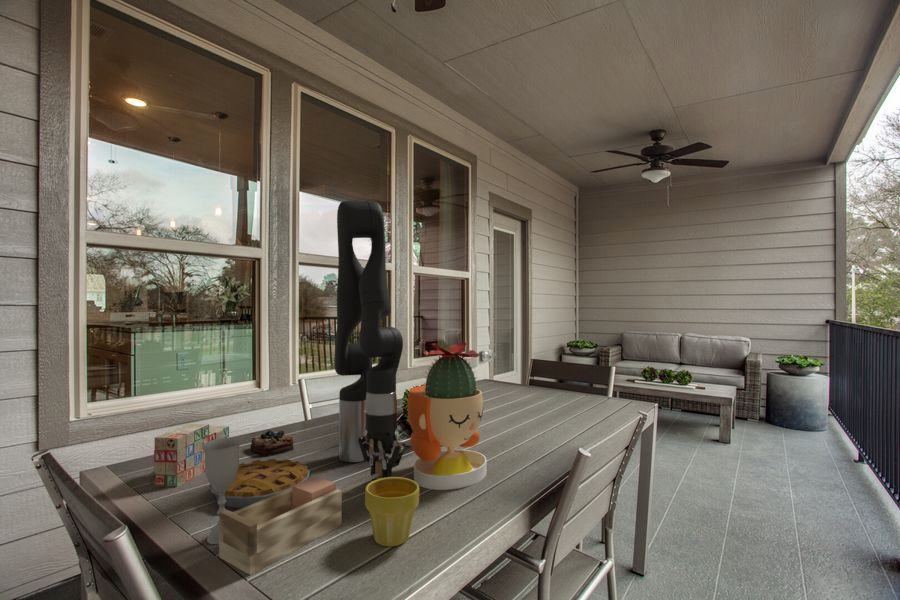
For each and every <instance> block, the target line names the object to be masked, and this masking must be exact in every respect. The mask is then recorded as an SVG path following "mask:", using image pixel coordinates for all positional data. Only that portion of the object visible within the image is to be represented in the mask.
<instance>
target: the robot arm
mask: <svg viewBox="0 0 900 600" xmlns="http://www.w3.org/2000/svg"><path fill="white" fill-rule="evenodd" d="M336 216H337V217H336V226H337V227H336V229H337V251H338V262H337V263H338V264H337V265H338V266H337V283H336V284H337V285H336V332H335V345H334V358H333V361H334V370H335V371H334V372H335V373H336V374H337V375H338V376H344V377H345V376H360V377H359V378H358V379H357V380H356V381H355V382H353V383H351V384H349V385H346V386H344V387H341V388H340V390H339V393H338V394H339V404H338V405H339V406H338V407H339V409H338V411H339V415H338V416H339V417H338V419H339V421H338V424H339V426H338V428H339V429H338V435H339V437H338V439H339V440H338V444H339V445H338V447H339V449H338V450H339V451H338V458H339V460H340V461H341V462H347V463H360V462H365V463H369V466H370V476H371V475H373V474H375V461H376V460H380V459H381V460H382V465H383V469H382V478H387V477H393V468H396V467H397V466H399V465H400V462H401V461H402V460H401V459H402V457H403V455H404V451H406V450H405V449H406V447H407V446H406V444H405V443H400V442H399V441H398V440H397V439H398V438H397V436H396V430H397V428H398V397H397V373H398V369H399V365H400V361H401V357H402V354H403V349H404V338H403V335H402V333H401V331H400V330H399V329H398V328H396V327H392V326H386V327H383V326H382V327H380V326H381V325H380V324H381V323H380V322H381V319H384V318H386V317H388V316H390V314H391V313H392V312H391V311H392V308H391V307H392V306H391V300H390V293H389V288H388V281H387V269H386V267H387V265H386V264H387V262H386V257H387V256H386V232H385V231H386V230H385V229H386V228H385V220H384V219H385V218H384V212H383V209H382V206H381V205H380V203H379V202H378V201H372V200H342V201H341V202H340V203H339V205H338V207H337V214H336ZM367 238H370V240H371V241H370V243H371V248H370V253H369V255H368V260H367V263H366V264H365V266H364V267H363V266H362V264H361V262H359V259H358V258H357V255H356V254H355V250H354V244H353V239H367ZM359 324H360V328H359V337H358V338H359V339H358V340H359V343H349V341H350V338H351V336H352V334H353V333H354V331H355V329H356V328H358V325H359ZM374 358H379V361H378V363H377V364H376V365H373V360H374ZM372 481H375V478H374V479H372V480H371V482H372Z"/></svg>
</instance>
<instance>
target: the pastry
mask: <svg viewBox="0 0 900 600" xmlns="http://www.w3.org/2000/svg"><path fill="white" fill-rule="evenodd" d="M293 439H294V438H293V436H291V435H288V434H285V431H283V430H279V431H278V432H277V431H274V430H272V429H269V430H267V431H266V432H265V433H262V434H260V435H258V434H257V435H256V436H254V437H253V438H252V439H251V444H250V445H249V446H250V450H251V451H252V452H253V453H254V454H256V455H258V456H259V457H262V458H265V457H271V456H276V455H280V454H284V453H288V452H291V451H293V450H294V443H295V442H294V440H293Z"/></svg>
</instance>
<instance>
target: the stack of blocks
mask: <svg viewBox="0 0 900 600" xmlns="http://www.w3.org/2000/svg"><path fill="white" fill-rule="evenodd" d="M221 438H230V426H229V425H210V423H209V424H208V423H187V424H184V425H181V426H180V427H176V428H175V429H171V430H169V431H168V432H165V433H162V434H159V435H157V436H154V450H153V462H154V463H153V465H154V466H153V467H154V469H153V470H154V474H153V478H154V479H153V481H154V483H153V486H155V487H171V488H177V487H179V486H181V485H183V484H185V483H187V482H188V481H191V480H192V479H194V478H196V477H197V476H199V475H202V473H205V451H204V449H203V448H202V445H203V444H204V443H206V442H209V441H212V440H216V439H221Z"/></svg>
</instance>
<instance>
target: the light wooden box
mask: <svg viewBox="0 0 900 600" xmlns="http://www.w3.org/2000/svg"><path fill="white" fill-rule="evenodd" d="M342 495H343V493H342V491H341V489H339V488H336V490H335V491H333V492H330V493H328V494H326V495H324V496H322V497H319V498H317V499H315V500H313V501H311V502H308V503H306V504H304V505H302V506H300V507H297V508H295V509H293V510H292V488H291V489H289V490H286V491H284V492H281V493H279V494H276V495H274V496H271V497H269V498H266V499H264V500H261V501H259V502H257V503H254V504H252V505H249V506H247V507H244V508H238V509H237V510H235V511H230V510H228V509H226V510H223V511H221V512H219V514H218V517H219V520H218V522H219V544H218V557H219V558H220V559H221V560H223V561H225V562H227V563H228V564H230V565H232V566H233V567H235V568H237V569H239V570H241V571H242V572H243V573H245V574H247V575H249V576H251V575H253V574H255V573H257V572H259V571H261V570H262V569H265V568H267V566H270V565H271V564H273V563H276V562H277V561H279V560H281V559H283V558H284V557H287V556H288V555H290V554H292V553H293V552H295V551H297V550H299V549H301V548H302V547H304V546H306V545H308V544H310V543H312V542H314V541H316V540H317V539H319V538H321V537H322V536H325V535H326V534H328V533H330V532H331V531H333V530H336V529H338V528H339V527H342V525H343V524H342V520H343V519H342V513H343V512H342V510H343V509H342V508H343V506H342V505H343V504H342V503H343V501H342V498H343V497H342Z"/></svg>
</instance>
